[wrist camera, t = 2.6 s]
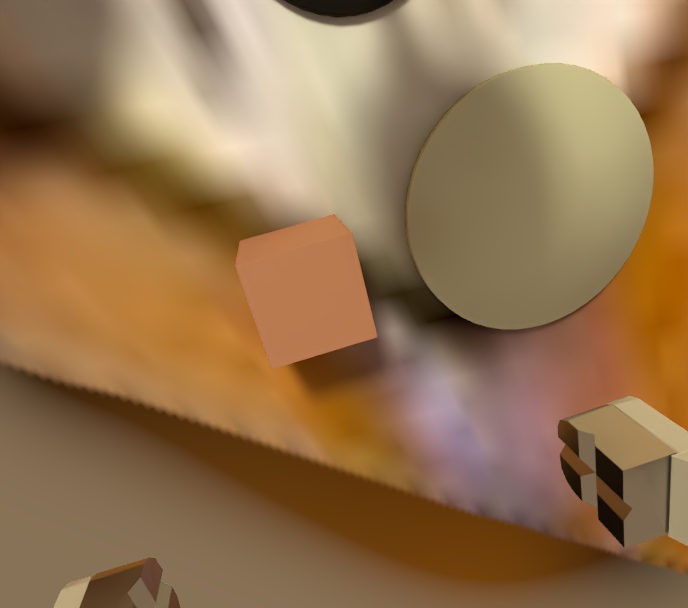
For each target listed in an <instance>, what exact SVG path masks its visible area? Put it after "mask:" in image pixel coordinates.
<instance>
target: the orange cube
mask: <svg viewBox="0 0 688 608" xmlns="http://www.w3.org/2000/svg"><path fill="white" fill-rule="evenodd" d="M236 269H237V272H238V275H239V278H240V280H241V283H242V286H243V289H244V292H245V295H246V298H247V300H248V303H249V306H250V309H251V312H252V315H253V318H254V320H255V323H256V326H257V329H258V332H259V335H260V337H261V340H262V343H263V346H264V349H265V352H266V355H267V357H268V360H269V363H270V366H271V369H275V368H278V367H281V366H285V365H288V364H291V363H295V362H298V361H301V360H304V359H308V358H311V357H314V356H317V355H321V354H324V353H327V352H331V351H334V350H337V349H340V348H344V347H347V346H350V345H353V344H357V343H360V342H363V341H367V340H370V339H373V338H376V337H377V333H376V329H375V325H374V320H373V316H372V312H371V308H370V304H369V300H368V296H367V292H366V287H365V283H364V279H363V275H362V271H361V267H360V263H359V259H358V254H357V250H356V246H355V242H354V238H353V234H352V232H351V231H350V230H349V229H348V228H347V227H346V226H345V225H344V224H343V223H342V222H341V221H340V220H339V219H338V218H337V217H336V216H335V215H334V214H333V215H330V216H326V217H323V218H319V219H316V220H312V221H309V222H305V223H301V224H298V225H294V226H291V227H287V228H284V229H280V230H277V231H273V232H270V233H266V234H262V235H259V236H255V237H252V238H248V239H245V240H241V241H240V243H239V249H238V254H237V260H236Z"/></svg>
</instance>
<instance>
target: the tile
mask: <svg viewBox="0 0 688 608" xmlns="http://www.w3.org/2000/svg"><path fill="white" fill-rule="evenodd" d="M653 176H654V173H653V156H652V151H651V145H650V140H649V137H648V134H647V131H646V128H645V125H644V123H643V121H642V119H641V117H640V115H639V113H638V111H637V109H636V108H635V107H634V105H633V104H632V102H631V101H630V99H629V98H628V97H627V96H626V95H625V94H624V93H623V92H622V91H621V90H620V89H619V88H618V87H617V86H616V85H615V84H613V83H612V82H611V81H609V80H608V79H607V78H605V77H603V76H601V75H599V74H597V73H595V72H593V71H592V70H589V69H586V68H582V67H579V66H576V65H569V64H562V63H544V64H536V65H531V66H525V67H521V68H517V69H514V70H511V71H508V72H505V73H502V74H499V75H497V76H495V77H493V78H491V79H489V80H487V81H485V82H483V83H481V84H480V85H478V86H477V87H475V88H474V89H472V90H471V91H470V92H468V93H467V94H465V95H464V96H463V97H462V98H461V99H460V100H459V101H457V102H456V103H455V104H454V105H453V106H452V107H451V108H450V109H449V110H448V111H447V113H446V114H445V115H444V116H443V117H442V118H441V119H440V121H439V122H438V123H437V125H436V126H435V128H434V129H433V130H432V132H431V133H430V135H429V136H428V138H427V140H426V142H425V144H424V146H423V147H422V149H421V151H420V153H419V155H418V158H417V161H416V163H415V166H414V169H413V171H412V175H411V179H410V183H409V187H408V191H407V199H406V207H405V226H406V234H407V241H408V245H409V249H410V253H411V257H412V259H413V262H414V264H415V266H416V269H417V271H418V273H419V274H420V276H421V278H422V279H423V281H424V283H425V284H426V286H427V287H428V288H429V289H430V290H431V292H432V293H433V294H434V295H435V296H436V297H437V298H438V299H439V300H440V301H441V302H442V303H444V304H445V305H446V306H447V307H448V308H449V309H450V310H452V311H453V312H455V313H456V314H458V315H459V316H461V317H462V318H465V319H467V320H469V321H471V322H473V323H476V324H479V325H482V326H486V327H490V328H497V329H524V328H532V327H536V326H540V325H544V324H547V323H550V322H552V321H555V320H557V319H560V318H562V317H564V316H566V315H568V314H570V313H572V312H574V311H575V310H577V309H578V308H580V307H581V306H583V305H584V304H586V303H587V302H588V301H590V300H591V299H592V298H593V297H594V296H596V295H597V294H598V293H599V292H600V291H601V290H602V289H603V288H604V287H605V286H606V285H607V284H608V283H609V282H610V281H611V280H612V279H613V278H614V276H615V275H616V274H617V273H618V272H619V270H620V269H621V268H622V266H623V265H624V263H625V262H626V260H627V259H628V257H629V256H630V254H631V252H632V250H633V249H634V247H635V245H636V243H637V241H638V239H639V237H640V234H641V232H642V229H643V227H644V224H645V221H646V218H647V214H648V211H649V207H650V202H651V196H652V190H653Z"/></svg>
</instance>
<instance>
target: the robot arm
mask: <svg viewBox="0 0 688 608" xmlns="http://www.w3.org/2000/svg"><path fill="white" fill-rule="evenodd" d="M558 437H559V438H560V439H561V440H562V441H563V442H564V443H565V446H564V448H563V450H562V451H561V453H560V460H561V468H562V470H563V473H564V475H565V478H566V480H567V482H568V484H569V485H570V487H571V488H572V490H573V491H574V493H575V494H576V495H577V496H578V497H579V498H580V499H581V501H582V502H585V503H587V504H590V505H592V506H595V507H597V508H598V520H599V521H600V522H601V523H602V524H603V525H604V526H605V527H606V528H607V529H608V531H609V532H610V533H611V534H612V535H613V536H614V537H615V538H616V539H617V540H618V542H619V543H620V544H621V545H622V546H623V547H624V548H626V547H629V546H632V545H636V544H639V543H642V542H645V541H648V540H651V539H654V538H657V537H660V536H663V535H666V534H669V537H671V538H673V539H675V540H677V541H679V542H681V543H683V544H685V545H687V546H688V432H687V431H686V430H684V429H683V428H681V427H680V426H678V425H677V424H675V423H674V422H672V421H671V420H670V419H668V418H667V417H665V416H664V415H662V414H661V413H659V412H658V411H656V410H655V409H653V408H652V407H650V406H649V405H647V404H646V403H644V402H643V401H641V400H640V399H638V398H636V397H632V396H628V397H625V398H622V399H619V400H616V401H613V402H611V403H608V404H606V405H603V406H600V407H597V408H594V409H591V410H588V411H585V412H582V413H579V414H576V415H574V416H571V417H568V418H565V419H562V420H560V421H559V424H558ZM162 571H163V570H162V568H161V567H160V565H159V563H158V562H157V560H156V559H155V558H146V559H143V560H140V561H137V562H133V563H130V564H127V565H123V566H120V567H117V568H114V569H110V570H107V571H104V572H100V573H97V574H96V575H94V576H90V577H87V578H83V579H80V580H76V581H73V582H70V583H68V584H67V585H66V586H65V587H64V588H63V589H62V590H61V592H60V594H59V596H58V599H57V601H56V603H55V605H54V608H180V605H179V601H178V598H177V595H176V593H175V591H174V589H173V588H172V586H170V585H167V584H165V583H163V582H160V580H161V576H162Z"/></svg>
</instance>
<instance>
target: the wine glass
mask: <svg viewBox="0 0 688 608" xmlns="http://www.w3.org/2000/svg"><path fill="white" fill-rule="evenodd" d="M284 1H286V2H288V3H290V4H292V5H294V6H296V7H298V8H300V9H302V10H305V11H309V12H312V13H315V14H318V15H324V16H331V17H347V16H356V15H360V14H364V13H368V12H372V11H374V10H376V9H378V8H380V7H383V6H385V5H387V4H389V3H390V2H391V1H393V0H284Z"/></svg>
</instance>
